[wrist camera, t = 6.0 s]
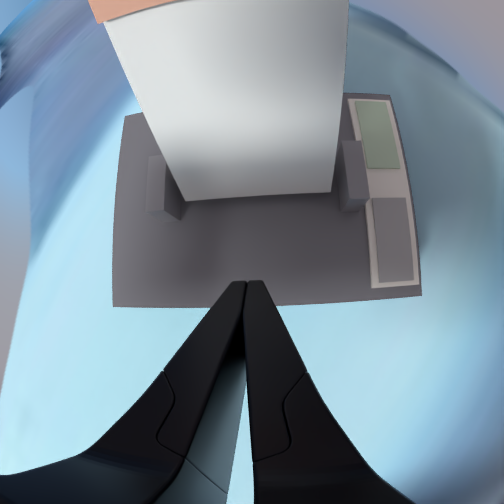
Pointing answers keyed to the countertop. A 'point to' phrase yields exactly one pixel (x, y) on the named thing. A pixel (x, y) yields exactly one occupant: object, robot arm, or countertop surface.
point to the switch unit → (270, 226)
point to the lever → (236, 89)
